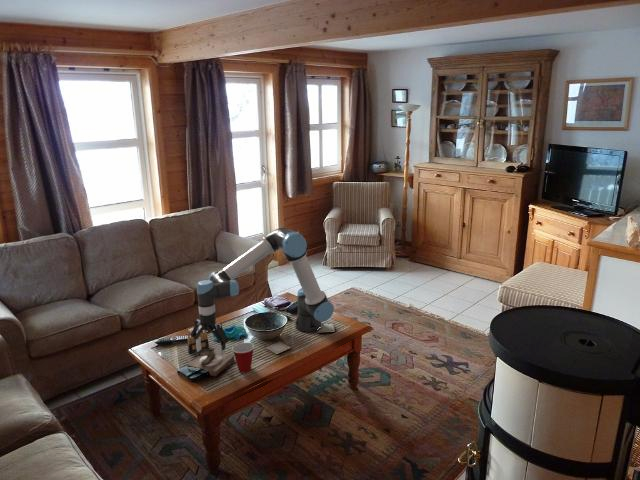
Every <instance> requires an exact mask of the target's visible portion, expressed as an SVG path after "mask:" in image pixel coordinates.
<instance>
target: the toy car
mask: <svg viewBox="0 0 640 480" xmlns="http://www.w3.org/2000/svg"><path fill="white" fill-rule="evenodd" d="M223 330H224V332H225V334H226V336H227V338H228V339H235V340H240V338H241V339H245V338H247V337H248V333H247V329H246V328H245V327H244V326H236V324H233V325H232V326H229V327H224V328H223ZM212 336H213V341H214V342H215V343H217V342H218V339H217V338H216V337H215V335H214V334H213V333H212Z"/></svg>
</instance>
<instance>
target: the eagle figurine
mask: <svg viewBox="0 0 640 480" xmlns="http://www.w3.org/2000/svg"><path fill="white" fill-rule="evenodd" d="M209 348H210V349H209ZM209 348H207V349H203V350H200V351H197V354H196V355H197V357H198V356H207V357H206V359H205V360H204V361H203V362H202V363H201V365H208V364H209V363H210V362H211V361H212V360H214V358H215V357H216V356H217V355H218V354H219V352H220V350H218V349H217V348H213V347H212V346H209ZM215 355H216V356H215Z"/></svg>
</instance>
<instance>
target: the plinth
mask: <svg viewBox="0 0 640 480" xmlns="http://www.w3.org/2000/svg"><path fill="white" fill-rule="evenodd" d="M215 356H216V355H215ZM206 357H207V356H197V357H195V358H194V359H193V360H191V362H189V363H188V364H187V368H188V367H194V368H200V369H204V370H208V371H209V373H210V375H209V376H212V377H217V376H218V375H219V374H220V373H221V372H222V371H224V370H225V369H226V368H227V367H228V366H229V365H231V364H232V363H233V362H234V361H235V355H234V354H233V355H232V354H229V353H225V354H224V355H223V356H222V357H220V351H219V354H218V355H217V356H216V357H215V358H214V360H212V361H211V362H210V363H209V364H208V365H201V363H202V362H203V361H204V360H205V359H206Z"/></svg>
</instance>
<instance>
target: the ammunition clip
mask: <svg viewBox="0 0 640 480" xmlns="http://www.w3.org/2000/svg"><path fill="white" fill-rule="evenodd" d="M199 330H200V328H199V327H198V330H197V332H196V334H197V333H198V331H199ZM192 331H193V330H191V331H189V330H187V352H188V354H192V353H196V352H198V351H197V347H196V344H195V339H194V337H191V333H192ZM199 337H200V338H201V350H203V349H206V350H207V349H209V348H210V344H209V337H208V331H205V330H204V331H203V332H202V333H201V334H200V336H199Z"/></svg>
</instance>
